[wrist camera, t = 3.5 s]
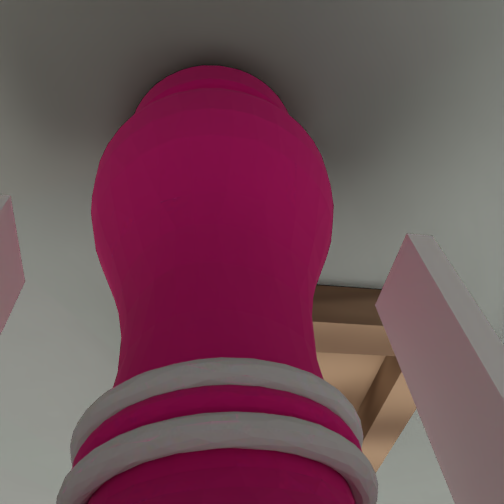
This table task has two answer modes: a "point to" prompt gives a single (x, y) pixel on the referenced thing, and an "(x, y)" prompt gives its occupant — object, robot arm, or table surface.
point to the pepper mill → (215, 309)
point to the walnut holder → (362, 364)
